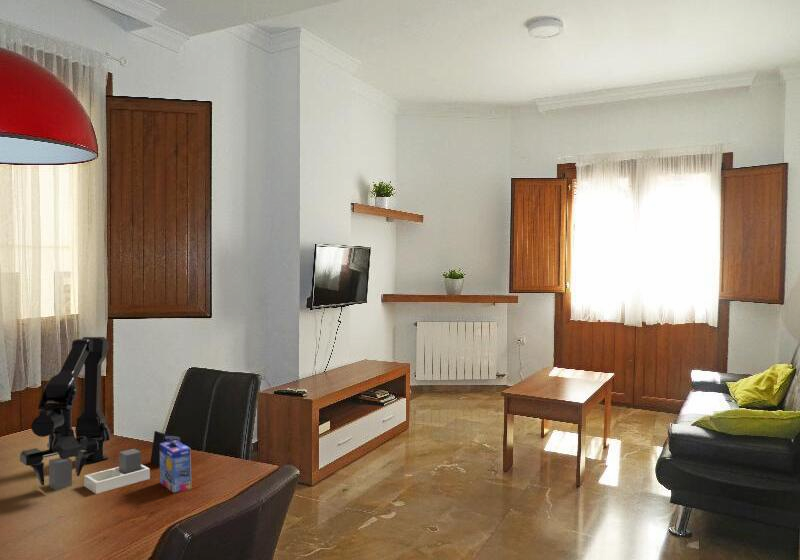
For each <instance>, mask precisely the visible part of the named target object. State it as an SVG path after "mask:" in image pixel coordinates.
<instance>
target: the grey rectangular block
mask: <svg viewBox="0 0 800 560" xmlns="http://www.w3.org/2000/svg"><path fill="white" fill-rule="evenodd" d="M72 486H73V459H72V458H71V457H69V458H67V459H61V458H60V457H56V458H52V459H48V487H50V488H51V489H53V490H54V491H58V490H61V489H62V490H63V489H65V488H69V487H72Z"/></svg>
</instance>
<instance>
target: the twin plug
mask: <svg viewBox="0 0 800 560" xmlns="http://www.w3.org/2000/svg"><path fill="white" fill-rule="evenodd" d="M118 453H119V454H118V463H119V464H118V467H119V472H121V473H122V474H128V473H131V472H135V471H139V470H141V464H142V451H139V450H138V449H136V448H131V449H127V450H123V451H119V452H118Z"/></svg>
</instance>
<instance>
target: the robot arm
mask: <svg viewBox="0 0 800 560" xmlns="http://www.w3.org/2000/svg"><path fill="white" fill-rule="evenodd" d="M109 349H110V342H109V340H108V339H106V337H105V336H83V337H82V338H79V339H78V338H77V339H74V340H73V341H72V343H71V348H70V350H69V353H68V355H67V357H66V358H65V361H64V362H63V364H62V367H61V369H60V371H59V372H58V373H57V374H56V375H54V376H52V377H51V378H50V379H49V381H48V382H47V384H46V385H45V386H44V388H43V390H42V393H41V396H40V400H39V403H38V407H37V410H40V411H39V413H38V416H37V417H35V418H34V419H33V421H32V422H31V426H30V427H31V431H32V432H33V434H34V435H36V436H38V437H41V438H44V437H48V442H47V446H46V447H47V448H48V449H44V450H40V449H38V448H36V447H35V448H30V449H26V450H25V449H24V450H21V452H20V454H19V462H21V463H22V464H24V465H26V466H29V467H30V468H32V469H33V471H34V472H35V474H36V477H37V479H38V481H39V483H40V485H41V486H45V473H44V466H45V463H44V462H43V460H44V458H48V457H51V456H52V457H53V456H56V455H58V456H59V458H61V459H67V458H73V457H75V475H76V477H79V476H80V475H81V473H82V469H83V468H84V464H91V463H96V462H100V461H105V460H107V459H109V457H108V456H107V455H105V454H104V453H105V452H104V451H105V450H104V449H105V448H104V447H105V443H106V442H108V441H110V440H111V435H112V434H111V432H112V431H111V430H110V428H109V426H108V424H107V423H106V421H107V419H106V416H105V414H104V413H103V411H102V410H101V395H102V394H101V393H102V392H101V391H102V390H101V389H102V388H101V386H102V385H101V384H102V364H103V362H104V361H105V360H106V358H107V356H108V352H109ZM83 366H84V381H83V384H84V385H83V411H82V412H81V414H80V416H78V417H77V419H75V420H76V426H75V431H74V429H73V407H74V405H75V404H74V403H75V399H76V397H77V395H78V392H79V391H78V389H79V388H78V384H77V379H78V377H79V375H80V372H81V371H82V368H83Z"/></svg>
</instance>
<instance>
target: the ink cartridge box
mask: <svg viewBox="0 0 800 560" xmlns="http://www.w3.org/2000/svg"><path fill="white" fill-rule="evenodd" d="M167 438H168V437H167ZM168 440H169V442H164V443H160V444H159V447H160V466H159V484H161V485H162V486H163V487H165V488H166V489H167V490H169V491H170V492H172V493H177V492H181V491H185V490H190V489H192V465H191V464H192V463H191V460H192V457H191V447H190V446H189V445H186V444H183V443H182V442H181V441H180V442H179V441H177V440H174V441H173V440H172V439H170V438H168Z"/></svg>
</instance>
